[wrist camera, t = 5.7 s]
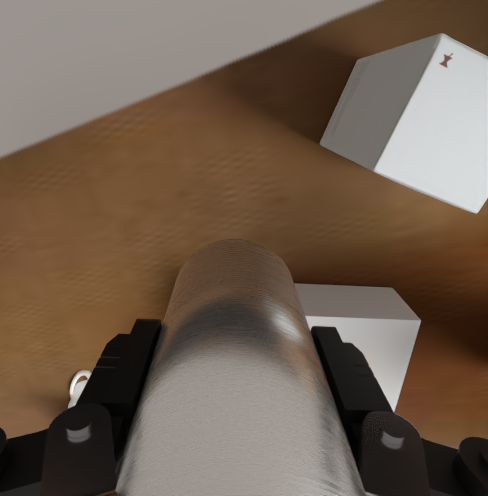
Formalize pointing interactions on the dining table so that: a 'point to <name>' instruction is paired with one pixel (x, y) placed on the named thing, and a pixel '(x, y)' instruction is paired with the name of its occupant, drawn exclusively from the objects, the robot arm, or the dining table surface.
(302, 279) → the dining table surface
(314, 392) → the shiny metal cylinder
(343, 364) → the robot arm
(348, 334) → the white square box
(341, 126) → the supplement box
